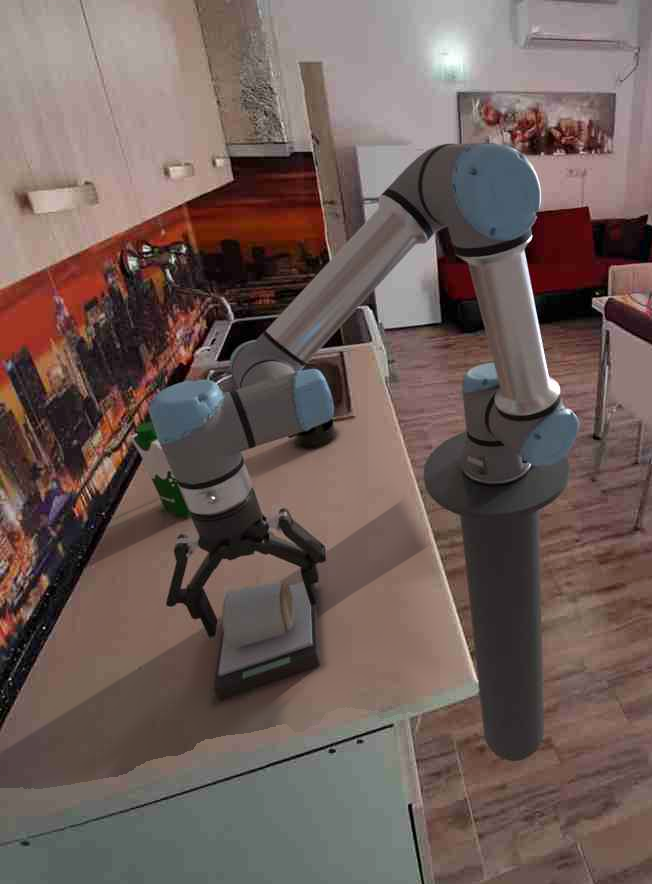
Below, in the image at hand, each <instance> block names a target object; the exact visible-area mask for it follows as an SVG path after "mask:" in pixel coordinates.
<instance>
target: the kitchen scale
mask: <svg viewBox="0 0 652 884" xmlns="http://www.w3.org/2000/svg"><path fill="white" fill-rule="evenodd" d="M315 584H316V583H314V587H315V590H316V591H317V588H316V585H315ZM290 588H291V591H292V596H293V604H294V622H293V626H292V628H291V630H290V631H289V632H287V633H285V634H283V635H281V636H278V637H274V638H270V639H266V640H263V641H260V642H256V643H253V644H249V645H245V646H242V647H239V648H235V649H231V648H229V646H228V645H227V643H226V639H225V636H224V631H223V629H222V630H221V637H220V644H219V645H220V646H219V651H218V652H219V653H218V659H217V665H216V666H217V668H216V671H215V672H216V674H215V679H214V680H215V681H214V687H213V689H214V691H215V693H216V696H217V697H218V700H219V701H220V700H224V699H227V698H230V697H232V696H236V695H238V694H241V693H244V692H247V691H249V690H252V689H257V688H258V687H261V686H264V685H268V684H270V683H273V682H276V681H279V680H281V679H282V680H283V679H285V678H287V677H290V676H293V675H296V674H299V673H302V672H305V671H308V670H311V669H314V668H317V667H319V666H321V652H320V636H319V635H320V634H319V617H318V616H319V614H318V596H317V592H316V604H315V605H312V606H311V604H310V601H309V598H308V595H307V591H306V588H305V585H304V582H303V581H301V582H297V583H294V584H290Z"/></svg>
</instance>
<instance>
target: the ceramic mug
mask: <svg viewBox="0 0 652 884" xmlns="http://www.w3.org/2000/svg"><path fill="white" fill-rule="evenodd" d="M290 586H291V584H289V583H288V582H286V581H275V582H268V583H263V584H259V585H258V584H257V585H253V586H247V587H242V588H236V589H232V590H228V591H227V593H226V594H225V597H224V600H223V605H222V613H221V615H222V616H221V617H222V618H221V620H222V630H223V631H224V636H225V639H226V643H227V645H228V646H229V648H231V649H235V648H239V647H242V646H245V645H249V644H253V643H256V642H260V641H263V640H266V639H270V638H274V637H278V636H281V635H283V634H285V633H287V632H289V631H290V630H291V628H292V626H293V622H294V604H293V596H292V591H291V588H290Z"/></svg>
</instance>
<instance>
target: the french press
mask: <svg viewBox="0 0 652 884" xmlns="http://www.w3.org/2000/svg"><path fill="white" fill-rule="evenodd" d="M309 369H310V368H303V369H302V370H301V371H304V370H309ZM319 371H320V372H321V370H319ZM321 373H322V372H321ZM324 430H325V431H324ZM314 431H315V434H314V435H308V434H309V433H311V432H314ZM295 437H296V444H297V445H298V447H300V448H303V449H318V448H321V447H324V446H327V445H328V444H330V443H331V442H333V441H334V440H335V439H336V438H337V430H336V428H335V425H334V421H333V418H332V419H331V420H329V421H328V422H325V423H323V424H320V425H318V426H315V427H313V428H311V429H310V430H308V431H303V432H300V433H297V434H294V435H290V436H287V438H288V439H292V438H295Z"/></svg>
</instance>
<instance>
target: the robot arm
mask: <svg viewBox="0 0 652 884" xmlns="http://www.w3.org/2000/svg"><path fill="white" fill-rule="evenodd" d="M541 202H542V189H541V184H540V180H539V177H538V174H537V172H536V170H535V168H534V166H533V164H532V163H531V162H530V160H529V159H528V157H526V155H524V154H523V153H521V152H520V151H518V150H517V149H516V148H513V147H512V146H508V145H504V144H499V143H495V142H489V141H488V142H487V141H484V142H471V143H443V144H442V143H441V144H438V145H435V146H433V147H431V148H429V149H427V150H426V151H424V152H423V153H421V154H420V155H419V156H418V157H416V158H415V160H413V161H412V162H411V163H410V164H409V165H408V166H407V167H406V168H405V169H404V170H403V171H401V173H400V174H399V175H398V176H397V177H396V178H395V179H394V180H393V182H391V184H390V185H389V186H388V187H387V188H386V189H385V191H383V192H382V194H380V196H379V197H378V208H377V210H376V211H375V212H374V213H373V214H372V215H371V216H370V217H369V218H368V219H367V220H366V221H365V222H364V223H363V225H362V226H361V227H360V228H359V229H358V230H357V231H356V232H355V233H354V235H352V236H351V237H350V239H349V240H347V242H346V243H345V244H344V245H343V246H342V247H341V248H340V249H339V250H338V252H336V254H335V255H334V256H333V257H332V258H331V259H330V260H329V261H328V262H327V264H325V266H324V267H323V268H322V269H321V270H320V271H319V272H318V273H317V274H316V276H314V278H312V280H311V281H310V282H309V283H308V284H307V285H306V286H305V287H304V288H303V289H302V290H301V292H300V293H299V294H298V295H296V297H295V298H294V300H292V301H291V302H290V303H289V305H288V306H287V307H286V308H284V310H283V311H282V312H281V313H280V314H279V315H278V317H277V318H276V319H275V320H274V321H273V322H272V323H271V324H269V326H268V327H267V329H265V330H264V331H263V333H261V335H259V336H258V338H256V339H252V340H249V341H246V342H244V343H241V344H240V345H239V346H237V347H236V348H235V349H234V351H233V352H232V354H231V355H230V359H229V371H230V376H231V379H232V381H233V383H234V385H235V386H236V387H237V389H234V390H229V391H225V392H223V390H222V389H220V386H219V385H218V384H217V383H216V382H214V381H213V380H209V379H196V380H193V381H191V380H186V381H182V382H178V383H175V384H173V385H170V386H167V387H166V388H164V389H162V390H160V391H159V392H158V393H156V394H155V395H154V396H153V397H152V398H151V400H150V402H149V404H148V408H147V409H148V414H149V417H150V419H151V420H150V421H152V423H153V426H154V428H155V431H156V434H157V439H158V441H159V443H160V445H161V447H162V450H163V452H164V454H165V456H166V459H167V461H168V463H169V466H170V468H171V470H172V472H173V475H174V477H175V479H176V481H177V484H178V487H179V489H180V491H181V494H182V496H183V498H184V501H185V503H186V505H187V508H188V509H189V510H190V516H189V517H190V519H191V520H192V523H193V525H194V527H195V530H196V532H197V536H192V537H189V536H188V535H187V534H185V533H183V534H182V533H181V534H179V535H178V536H177V537H176V541H175V545H174V548H173V554H174V557H175V558H174V559H175V561H176V562H175V566H174V570H173V574H172V577H171V582H170V585H169V589H168V595H167V598H166V603H165V606H167V607H169V608H172V607H175V606H177V604H182V605H184V606H185V607H186V608H187V611H188V613H189V615H190V617H191V619H193V620H194V621H195V620H199V619H200V622H201V624H202V625H203V627H204V629H205V632H206V634H207V636H208V638H212V637H215V636H216V633H217V626H218V618H217V616H216V614H215V611H214V609H213V607H212V604H211V602H210V600H209V597H208V595H207V593H206V591H205V589H204V586H205V585H206V583H207V582H208V581H209V579H210V577H211V575H212V574H213V573H214V571H215V570H216V569H217V568H218V567H219V566H220V564H221V562H222V560H228V561H233V560H236V559H238V558H240V557H246V556H247V557H248V556H251V555H255V552H257V553H260V554H262V555H264V556H267V555H270V556H273V557H276V558H277V559H281V560H282V561H285V562H287V563H289V564H292V565H294V566H296V567H298V568H300V575H301V580H302V582H304V585H305V588H306V591H307V595H308V598H309V601H310V604H311V606H312V605H315V604H316V593H317V589H316V590H315V588H316V586H315V587H314V584H317V583H319V579H320V578H319V576H320V575H319V570H318V566H317V564H319V563H320V564H323V563H325V562H326V561H327V552H326V551H327V550H326V545H324V543H322V542H321V541H320V540H318V538H316V537H315V536H314V535H313V534H311V532H309V531H308V530H306V528H304V527H303V526H302V525H301V524H299V523H298V522H297V521H295V519H293V517H292V514H291V513H290V511H289V509H288V508H286V507H283V508H280V509H279V511H278V514H274V515H272V516H269V517H267V516H265V515H264V513H262V509H261V507H260V506H261V505H260V504H259V501H258V497H257V495H256V492H255V489H254V487H253V483H252V479H251V476H250V474H249V471H248V468H247V465H246V463H245V460H244V459H245V458H244V457H243V454H242V452H245V451H248V450H250V449H254V448H256V447H258V446H262V445H265V444H269V443H271V442H274V441H278V440H280V439H283V438H288V436H290V435H294V434H297V433H300V432H303V431H308V430H310V429H311V428H313V427H315V426H318V425H320V424H323V423H325V422H328V421H329V420H331V419H332V420H333V417H334V415H335V404H334V399H333V396H332V393H331V390H330V386H329V384H328V382H327V380H326V377H325V376H324V374H323V373H322V372H320V371H321V370H319V369H317V368H308V369H309V370H304V371H301V370H302V369H305V367H306V366H307V364H308V363H309V362H310V361H311V360H312V359H313V357H315V355H316V354H318V352H319V351H320V350H321V349H322V348H323V347H324V345H325V344H326V343H327V342H328V341H329V340H330V339H331V338H332V337H333V336H334V334H335V333H336V332H337V331H338V330H339V329H340V328H341V327H342V326H343V324H345V323H346V321H347V320H348V319H349V318H350V317H351V315H353V313H354V312H356V311H357V310H358V308H359V307H360V306H361V305H362V303H364V301H365V300H367V298H368V297H369V296H370V295H371V294H372V293H373V292H374V290H375V289H376V288H377V287H378V286H379V285H380V284H381V283H382V282H383V281H384V280H385V279H386V277H388V275H389V274H390V273H391V272H393V270H394V268H395V267H397V265H398V264H399V263H400V262H401V261H402V260H403V259H404V258H405V257H406V256H407V254H408V253H409V252H410V251H411V250H412V249H413V248H414V247H415V246H416V245H421V244H423V245H424V244H426V243H427V242H428V241H429V240H430V239H432V237H433V236H434V235H435V234H436V233H438V231H441V230H443V229H445V228H447V230H448V232H449V237H450V242H451V244H452V248H453V252H454V254H455V256H456V257H457V258H459V259H461V260H463V261H464V262H466V263H467V264H468V269H469V272H470V277H471V280H472V283H473V288H474V292H475V296H476V299H477V303H478V307H479V312H480V316H481V319H482V322H483V326H484V331H485V335H486V339H487V342H488V346H489V350H490V353H491V357H492V362H489V363H488V362H487V363H483V364H480V365H476V366H474V367H472V368H470V369H468V370H467V371H466V372H465V373H464V375H462V380H461V393H462V401H463V408H464V409H463V410H464V420H465V421H464V422H465V429H466V431H467V438H466V442H465V446H464V449H463V453H462V457H461V468H462V472H463V474H464V475H465V477H466V478H467V479H469V480H470V481H472V482H474V483H476V484H479V485H483V486H491V487H496V486H505V485H509V484H513V483H515V482H517V481H519V480H521V479H522V478H524V477H525V476H526V475H527V474H528V473H529V471H530V469H531V466H532V465H534V466H537V467H546V466H550V465H552V464H554V463H556V462H557V461H559V460H560V459H561V458H563V457H564V456H565V455H566V454H567V455H568V453H569V452H570V450H571V449H572V447H573V445H574V444H575V442H576V439H577V438H578V434H579V430H580V422H579V419H578V416H577V415H576V414H575V413H574V412H573V410H572V409H570V408H566V407H565V405H564V403H563V397H562V393H561V388H560V385H559V383H558V382H557V380H556V379H554V378H552V377H551V376H549V371H548V366H547V360H546V356H545V350H544V346H543V340H542V335H541V329H540V323H539V319H538V318H539V317H538V314H537V309H536V303H535V298H534V293H533V288H532V282H531V277H530V272H529V267H528V261H527V257H526V252H525V250H526V248H527V246H528V245H529V243H530V242H531V240H532V238H533V232H532V227H533V225H534V224H535V222H536V220H537V218H538V217H537V215H536V214H537V212H539V211H540V209H541V204H542V203H541ZM271 528H274V529H275V530H277V532H278V533H282V534H283V535H284V536H285V537H286V538H287V539H288V540H290V541H291V542H290V541H288V540H286V539H283V538H282V537H279V536H277V535H275V533H274V532H273V531H271V530H270V529H271ZM197 548H200V549H201V550H203V551H205V552H207V554H206V556H205V558H204V559H203V561H202V562H201V564H200V565H199V567H198V569H197V570H196V571H195V574H194V575H193V577H192V578H191V580H190V581H189V583H187V584H186V588H185V587H183V588H182V585H183V581H184V577H185V573H186V570H187V565H188V561H189V558H190V557H191V556H192V555H193V554H194V553H195V551H196V549H197Z"/></svg>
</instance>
